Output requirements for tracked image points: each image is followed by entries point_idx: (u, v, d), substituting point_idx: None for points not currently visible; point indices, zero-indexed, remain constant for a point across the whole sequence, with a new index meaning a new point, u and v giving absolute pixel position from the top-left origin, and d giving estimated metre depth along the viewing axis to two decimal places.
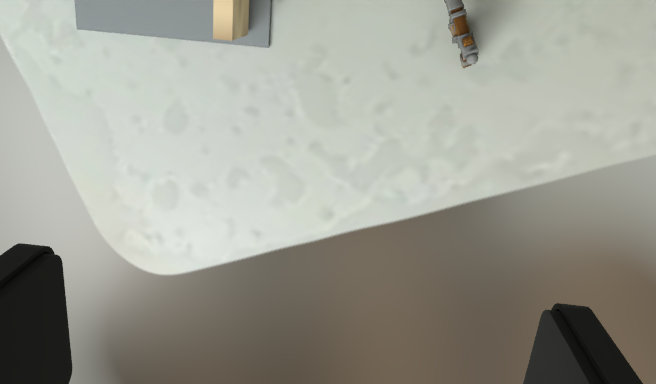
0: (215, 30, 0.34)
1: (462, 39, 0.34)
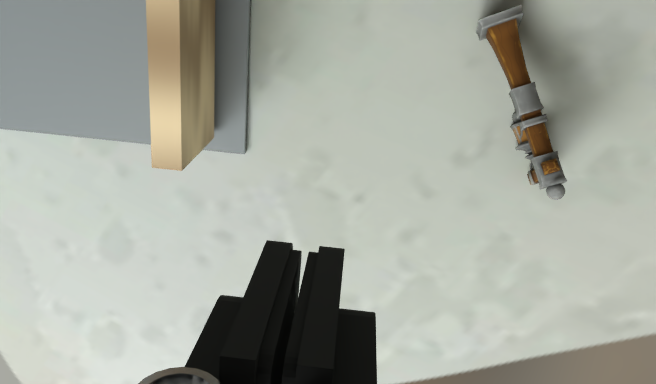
0: (155, 155, 0.21)
1: (542, 163, 0.22)
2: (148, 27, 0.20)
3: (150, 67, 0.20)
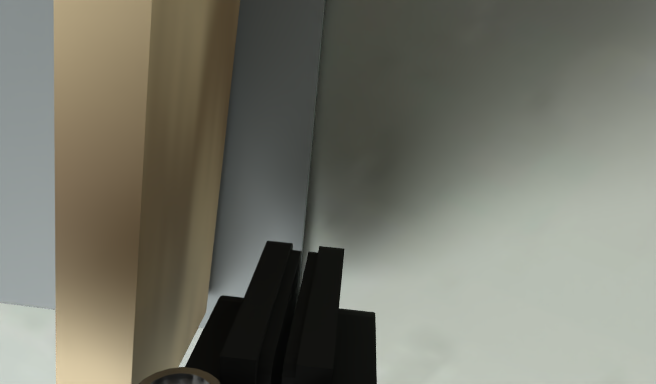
0: None
1: None
2: (58, 157, 0.07)
3: (60, 252, 0.08)
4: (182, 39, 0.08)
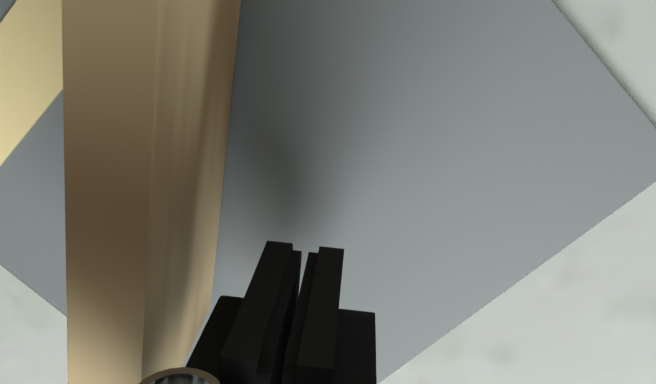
0: None
1: None
2: (68, 159, 0.07)
3: (70, 251, 0.08)
4: (186, 42, 0.08)
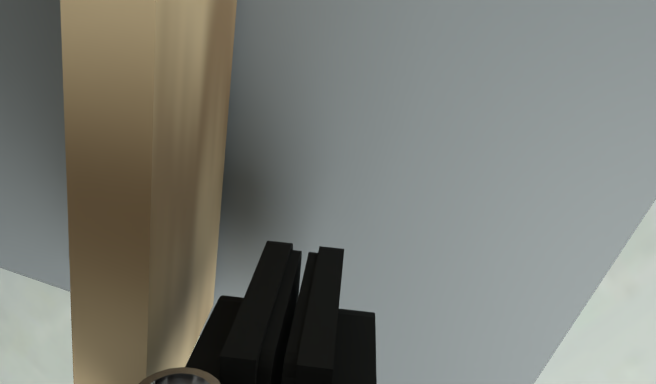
0: None
1: None
2: (69, 157, 0.08)
3: (74, 249, 0.08)
4: (184, 39, 0.08)
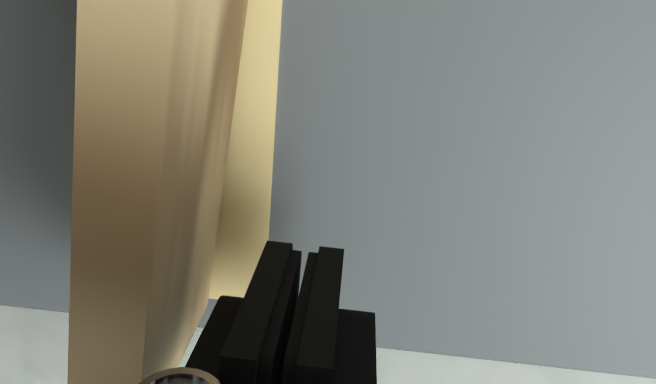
0: None
1: None
2: (77, 153, 0.07)
3: (76, 245, 0.08)
4: (196, 40, 0.08)
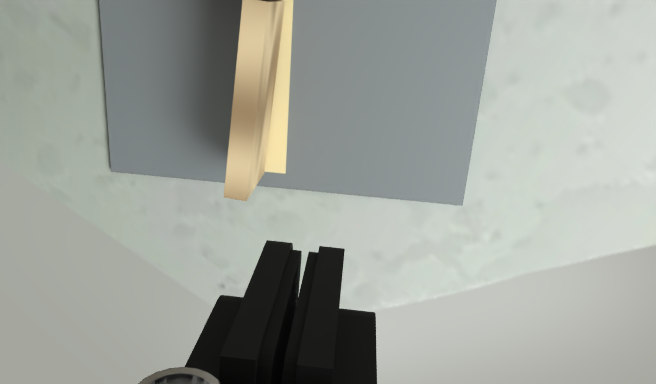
0: (227, 188, 0.28)
1: None
2: (234, 97, 0.27)
3: (232, 125, 0.27)
4: (266, 64, 0.27)
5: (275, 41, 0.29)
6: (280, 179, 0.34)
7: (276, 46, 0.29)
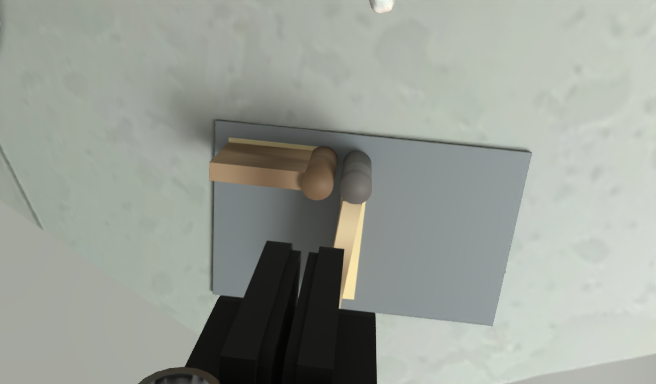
0: None
1: None
2: None
3: None
4: None
5: None
6: (349, 303, 0.42)
7: None
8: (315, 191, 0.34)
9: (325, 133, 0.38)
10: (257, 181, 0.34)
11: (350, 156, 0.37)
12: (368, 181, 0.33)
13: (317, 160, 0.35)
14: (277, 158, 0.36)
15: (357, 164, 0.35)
